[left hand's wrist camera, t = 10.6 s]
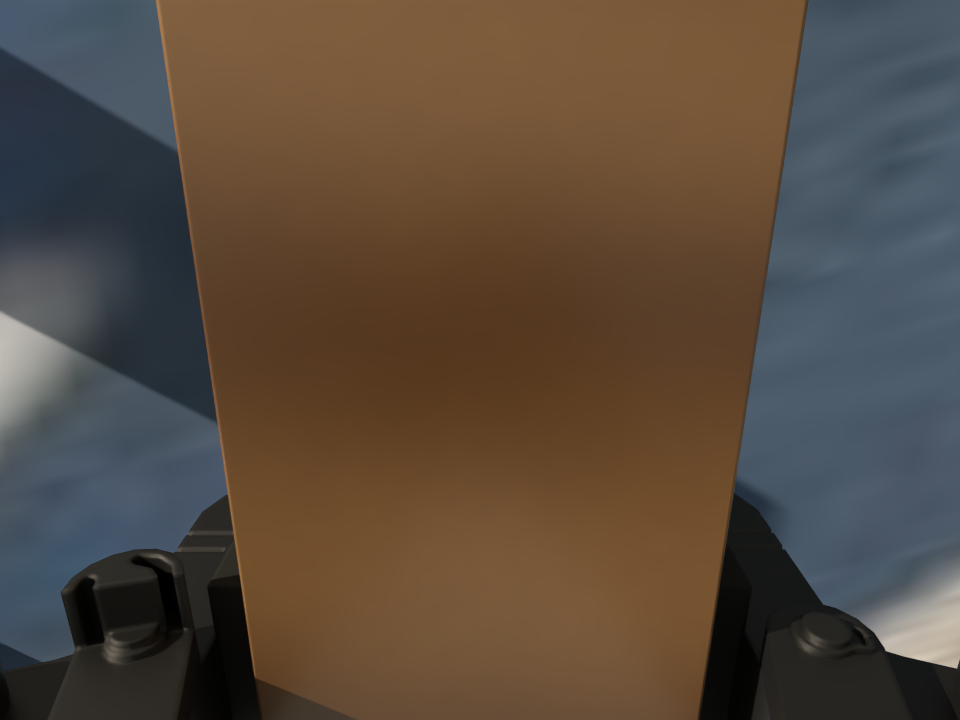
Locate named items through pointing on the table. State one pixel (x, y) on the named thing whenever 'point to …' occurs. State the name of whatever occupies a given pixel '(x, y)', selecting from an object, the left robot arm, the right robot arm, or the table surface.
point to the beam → (481, 336)
